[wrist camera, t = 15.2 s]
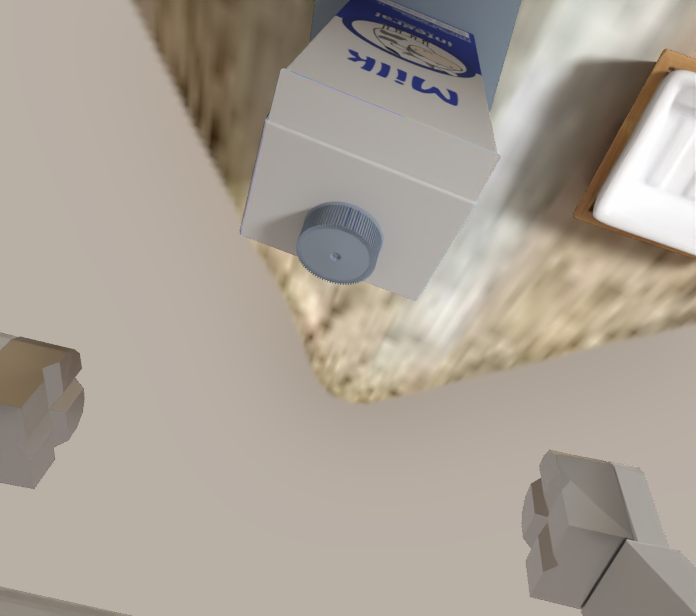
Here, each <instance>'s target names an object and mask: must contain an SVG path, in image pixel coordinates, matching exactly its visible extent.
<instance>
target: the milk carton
mask: <svg viewBox="0 0 696 616" xmlns="http://www.w3.org/2000/svg"><path fill="white" fill-rule="evenodd" d="M499 159H500V155H499V154H497V149H496V144H495V139H494V134H493V129H492V124H491V119H490V114H489V109H488V104H487V99H486V94H485V89H484V84H483V79H482V74H481V68H480V63H479V58H478V53H477V48H476V43H475V38H474V35H473V34H471V33H468V32H466V31H463V30H461V29H459V28H456V27H454V26H451V25H449V24H447V23H444V22H442V21H439V20H437V19H434V18H432V17H430V16H427V15H425V14H422V13H420V12H418V11H415V10H413V9H410V8H408V7H406V6H403V5H401V4H398V3H396V2H394V1H391V0H349V1H348V2H347V4H346V5H345V6H344V7H343V8H342V9H341V10H340V11H339V12H338V13H337V14H336V15H335V16H334V17H333V18H332V20H331V21H330V22H329V23H328V24H327V25H326V26H325V27H324V28H323V29H322V30H321V31H320V32H319V33H318V34H317V36H316V37H315V38H314V39H313V40H312V41H311V42H310V43H309V44H308V45H307V46H306V47H305V48H304V49H303V51H302V52H301V53H300V54H299V55H298V56H297V57H296V58H295V59H294V60H293V61H292V62H291V63H290V64H289V65H288V67H287V68H286V69H285V68H282V69H281V71H280V75H279V79H278V83H277V87H276V91H275V95H274V99H273V103H272V106H271V110H270V112H269V114H268V116H267V117H266V119H265V123H264V127H263V131H262V136H261V140H260V144H259V149H258V153H257V158H256V162H255V166H254V171H253V175H252V179H251V184H250V188H249V192H248V197H247V201H246V206H245V210H244V214H243V219H242V223H241V227H240V235H242V236H245V237H247V238H250V239H253V240H255V241H258V242H261V243H263V244H266V245H269V246H271V247H274V248H276V249H279V250H282V251H284V252H287V253H290V254H292V255H295V256H298V257H299V258H298V259H300V260H299V261H301V263H302V265H303V264H304V265H303V266H305V268H307V270H309V271H308V272H310V271H311V273H313V275H314V274H315V276H316V275H317V276H318V277H320V279H321V278H323V279H325V280H328V281H330V282H332V284H333V282H335V284H336V283H338V284H339V283H340V285H341V283H343V285H344V283H345V285H346V284H347V283H348V285H349V283H350V284H352V283H353V284H354V282H355V284H356V282H357V283H359V282H361V281H364V282H367V283H369V284H372V285H375V286H377V287H380V288H383V289H385V290H388V291H391V292H393V293H396V294H398V295H401V296H404V297H406V298H409V299H412V300H414V301H416V300H418V299H419V297H420V296H421V294H422V292H423V291H424V289H425V287H426V286H427V284H428V283H429V281H430V279H431V278H432V276H433V274H434V273H435V271H436V270H437V268H438V266H439V265H440V263H441V261H442V260H443V258H444V257H445V255H446V253H447V252H448V250H449V248H450V247H451V245H452V244H453V242H454V240H455V239H456V237H457V235H458V234H459V232H460V231H461V229H462V227H463V226H464V224H465V222H466V221H467V219H468V218H469V216H470V214H471V213H472V211H473V209H474V208H475V206H476V204H477V197H478V196H479V194H480V192H481V190H482V189H483V187H484V185H485V183H486V182H487V180H488V178H489V177H490V175H491V173H492V171H493V170H494V168H495V166H496V164H497V163H498V161H499ZM318 277H317V278H318ZM323 279H322V280H323ZM328 281H327V282H328Z"/></svg>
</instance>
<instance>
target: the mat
mask: <svg viewBox="0 0 696 616" xmlns="http://www.w3.org/2000/svg"><path fill="white" fill-rule="evenodd" d="M348 1H349V0H315V4H314V12H313V20H312V29H311V37H310V42H311V41H312V40H313V39H314V38H315V37H316V36H317V34H318V33H319V32H320V31H321V30H322V29H323V28H324V27H325V26H326V25H327V24H328V23H329V22H330V21H331V20H332V18H333V17H334V16H335V15H336V14H337V13H338V12H339V11H340V10H341V9H342V8H343V7H344V6H345V5H346V4H347V2H348ZM391 1H394V2H396V3H398V4H401V5H403V6H406V7H408V8H410V9H413V10H415V11H418V12H420V13H422V14H425V15H427V16H430V17H432V18H434V19H437V20H439V21H442V22H444V23H447V24H449V25H451V26H454V27H456V28H459V29H461V30H463V31H466V32H468V33H471V34H473V35H474V38H475V43H476V48H477V53H478V58H479V63H480V68H481V74H482V79H483V84H484V89H485V94H486V99H487V104H488V109H489V113H490V110H491V106H492V103H493V99H494V95H495V92H496V88H497V85H498V81H499V78H500V74H501V71H502V67H503V64H504V60H505V57H506V53H507V50H508V46H509V43H510V39H511V36H512V32H513V29H514V25H515V21H516V18H517V14H518V11H519V7H520V4H521V0H391Z"/></svg>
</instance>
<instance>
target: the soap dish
mask: <svg viewBox="0 0 696 616" xmlns="http://www.w3.org/2000/svg"><path fill="white" fill-rule="evenodd" d="M573 217H575V218H577V219H579V220H582V221H585V222H587V223H590V224H593V225H596V226H599V227H602V228H605V229H608V230H611V231H613V232H617V233H619V234H622V235H625V236H628V237H631V238H634V239H637V240H640V241H643V242H646V243H649V244H652V245H655V246H658V247H661V248H664V249H667V250H670V251H673V252H676V253H679V254H682V255H685V256H688V257H691V258H695V259H696V59H694V58H691V57H688V56H686V55H683V54H680V53H677V52H674V51H672V50H668V49H664V50H663V52H662V53H661V55H660V57H659V59H658V61H657V62H656V64H655V66H654V68H653V70H652V71H651V73H650V75H649V77H648V79H647V80H646V82H645V84H644V86H643V88H642V90H641V91H640V93H639V95H638V97H637V99H636V100H635V102H634V104H633V106H632V108H631V110H630V111H629V113H628V115H627V117H626V119H625V120H624V122H623V124H622V126H621V128H620V129H619V131H618V133H617V135H616V137H615V139H614V140H613V142H612V144H611V146H610V148H609V149H608V151H607V153H606V155H605V157H604V159H603V160H602V162H601V164H600V166H599V168H598V169H597V171H596V173H595V175H594V177H593V178H592V180H591V182H590V184H589V186H588V188H587V189H586V191H585V193H584V195H583V197H582V198H581V200H580V202H579V204H578V206H577V208H576V210H575V212H574V214H573Z"/></svg>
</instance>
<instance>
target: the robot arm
mask: <svg viewBox="0 0 696 616" xmlns="http://www.w3.org/2000/svg"><path fill="white" fill-rule="evenodd" d="M81 369H82V366H81V359H80V353H78V352H77V351H76V350H74V349H70V348H66V347H62V346H58V345H53V344H49V343H45V342H41V341H36V340H32V339H28V338H24V337H16V336H12V335H8V334H4V333H0V483H5V484H10V485H15V486H21V487H26V488H31V489H35V487H36V486H37V484H38V483H39V481H40V480H41V479H42V477H43V476H44V474H45V473H46V471H47V470H48V468H49V467H50V466H51V464H52V463H53V462H54V460H55V454H54V447H56V446H58V445H60V444H62V443H64V442H66V441H68V440H69V439H70V437H71V436H72V434H73V433H74V431H75V430H76V428H77V426H78V423H79V421H80V418H81V415H82V413H83V406H84V388H83V387H82V386H81V384H80V383H79V382H78V381H77V379H76V378H75V377H76V375H77V374H78V373H79V372H80V370H81ZM539 467H540V473H541V478H540V479H538V480H537V481H535V482H533V483H531V485H530V487H529V490H528V492H527V494H526V497H525V501H524V506H523V511H522V532H523V538H524V540H525V541H526V542H527V544H528V545H529V546H530V548H531V551H530V553H529V556H528V557H527V560H526V568H527V576H528V584H529V592H530V597H533V598H537V599H541V600H545V601H549V602H553V603H557V604H561V605H566V606H569V607H573V608H578V609H582V611H581V613H582V614H583V616H696V567H695V566H694V565H693V564H692V563H691V562H690V561H689V560H688V559H687V558H686V557H685V556H684V555H683V554H682V553H681V552H680V551H677V550H674V549H670V547H669V544H668V541H667V538H666V535H665V532H664V529H663V527H662V524H661V521H660V518H659V515H658V512H657V509H656V507H655V504H654V501H653V498H652V495H651V492H650V489H649V487H648V483H647V480H646V478H645V475H644V472H643V471H642V470H641V469H640V468H639V467H634V466H629V465H624V464H619V463H614V462H606V461H602V460H596V459H592V458H587V457H582V456H577V455H572V454H567V453H562V452H557V451H552V450H549V451H548V452H547V453H546V454H545V455H544V457H543V459H542V461H541V463H540V466H539ZM0 616H131V615H126V614H121V613H117V612H113V611H108V610H103V609H99V608H95V607H90V606H86V605H81V604H77V603H72V602H68V601H63V600H59V599H54V598H50V597H45V596H41V595H36V594H31V593H27V592H22V591H18V590H13V589H9V588H4V587H0Z"/></svg>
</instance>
